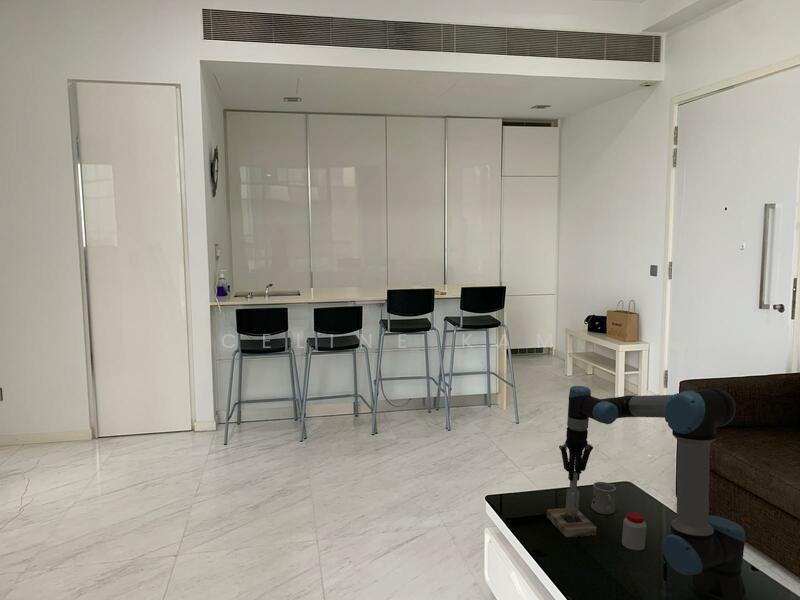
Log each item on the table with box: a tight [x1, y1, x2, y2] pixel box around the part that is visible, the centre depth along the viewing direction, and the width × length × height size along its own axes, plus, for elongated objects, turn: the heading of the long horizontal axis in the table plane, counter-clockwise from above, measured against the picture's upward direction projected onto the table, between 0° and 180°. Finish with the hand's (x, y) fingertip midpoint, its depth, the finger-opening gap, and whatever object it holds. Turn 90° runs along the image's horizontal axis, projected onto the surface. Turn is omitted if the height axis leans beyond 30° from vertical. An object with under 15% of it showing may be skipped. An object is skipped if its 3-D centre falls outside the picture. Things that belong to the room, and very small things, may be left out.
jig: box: [546, 507, 598, 538], centre depth 225 cm, size 16×12×3 cm
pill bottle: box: [621, 511, 648, 551], centre depth 212 cm, size 8×8×11 cm
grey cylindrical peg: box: [565, 487, 580, 523], centre depth 225 cm, size 5×5×14 cm
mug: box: [590, 481, 617, 515], centre depth 237 cm, size 12×9×10 cm
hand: (573, 488), depth 224 cm, fingers closed
